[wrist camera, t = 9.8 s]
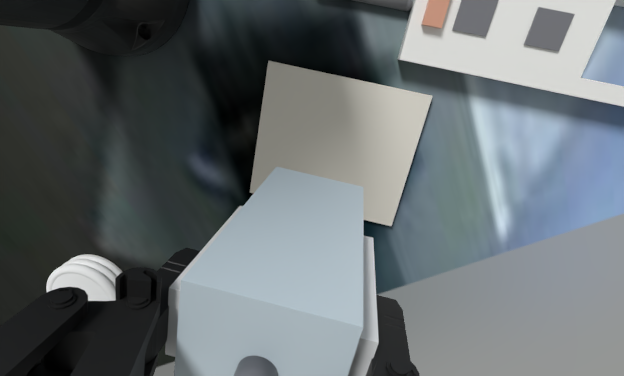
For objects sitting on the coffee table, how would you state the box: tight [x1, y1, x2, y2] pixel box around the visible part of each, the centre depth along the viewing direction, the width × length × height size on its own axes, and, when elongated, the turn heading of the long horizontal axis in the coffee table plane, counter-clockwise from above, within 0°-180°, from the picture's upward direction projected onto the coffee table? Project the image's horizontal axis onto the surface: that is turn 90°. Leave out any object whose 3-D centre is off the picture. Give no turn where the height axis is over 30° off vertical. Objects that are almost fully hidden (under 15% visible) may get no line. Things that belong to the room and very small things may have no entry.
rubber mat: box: [250, 61, 432, 226], centre depth 36 cm, size 16×14×1 cm
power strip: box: [353, 0, 624, 107], centre depth 29 cm, size 37×9×3 cm, turn 79°
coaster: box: [46, 254, 122, 301], centre depth 46 cm, size 10×10×4 cm
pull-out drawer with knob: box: [174, 167, 363, 376], centre depth 14 cm, size 5×5×13 cm
